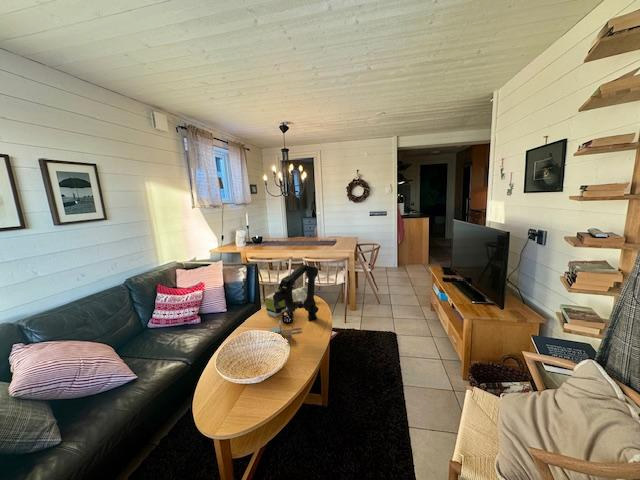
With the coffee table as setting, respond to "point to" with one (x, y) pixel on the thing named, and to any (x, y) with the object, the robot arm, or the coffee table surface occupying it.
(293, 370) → the coffee table surface
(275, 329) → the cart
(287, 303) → the robot arm
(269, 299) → the tea box
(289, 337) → the block
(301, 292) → the fox head
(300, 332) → the track
